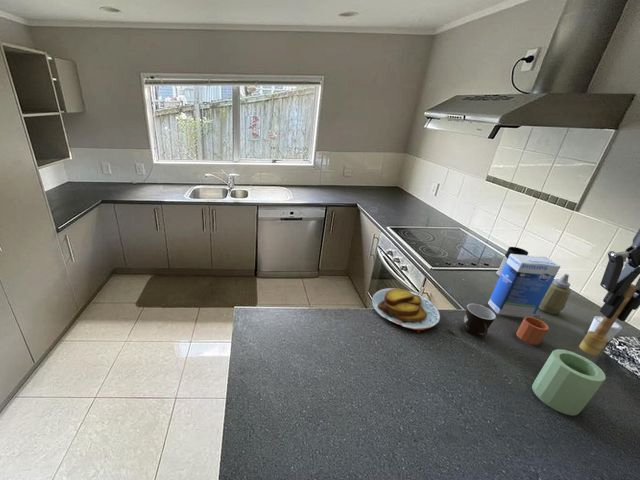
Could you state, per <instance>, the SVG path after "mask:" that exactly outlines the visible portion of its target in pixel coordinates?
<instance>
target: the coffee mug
mask: <svg viewBox="0 0 640 480" xmlns="http://www.w3.org/2000/svg"><path fill="white" fill-rule="evenodd" d="M496 318H497V316H496V314H495V311H494V310H493V311H492V309H490V308H488V307H486V306H484V305H481V304H477V303H468V304H467V305H466V309H465V313H464V318H463V322H462V327H461V328H462V330H463V331H464V332H465V333H467V334H468V335H470V336H473V337H475V338H481V337H483V336H485V335H487V334H488V330H489V328H490V326H491V325H492V323H493V322H494V321H495V319H496Z"/></svg>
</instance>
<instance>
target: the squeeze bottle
mask: <svg viewBox="0 0 640 480" xmlns="http://www.w3.org/2000/svg"><path fill="white" fill-rule="evenodd" d="M569 277H570V275H569V274H567V273H564V274H563V275H562V276H561V277H560V278H554V280H553V281H552V283H551V285H550V287H549V289H548V291H547V292H546V294H545V296H544V298H543V300H542V302H541V304H540V305H539V307H538V309H540V310H541V311H542V312H545V313H547V314H550V315H556V314H558V313H559V312H561V311H563V310H564V309H565V308H566V305H567V303H568V299H569V297H570V295H571V289H570V287H571V283H570V282H569Z"/></svg>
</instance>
